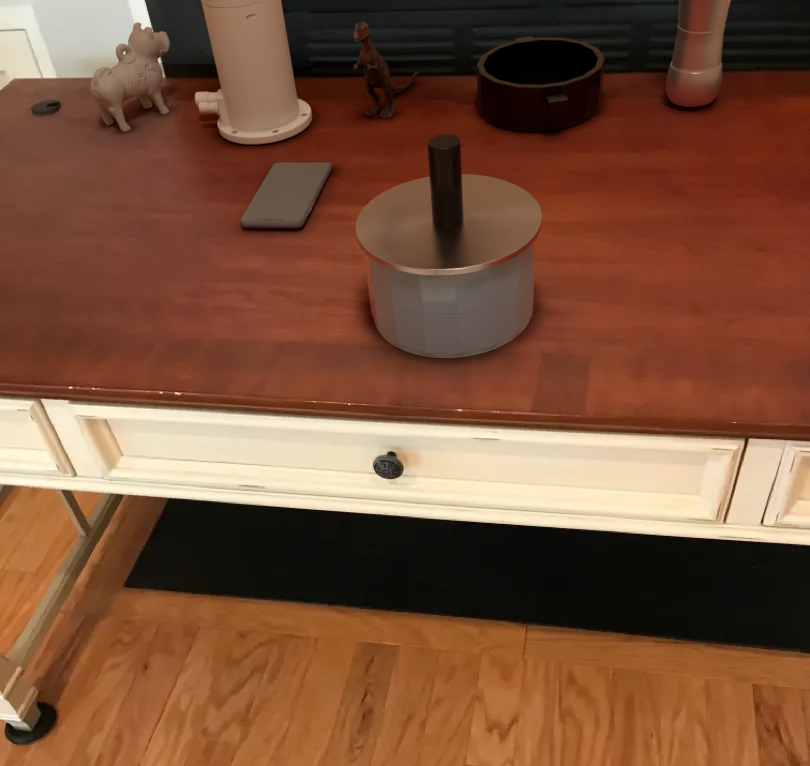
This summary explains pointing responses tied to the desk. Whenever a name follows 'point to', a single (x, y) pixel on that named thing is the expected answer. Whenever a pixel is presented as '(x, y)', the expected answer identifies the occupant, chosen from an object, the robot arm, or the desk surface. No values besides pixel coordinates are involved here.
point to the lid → (448, 219)
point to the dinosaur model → (376, 72)
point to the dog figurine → (132, 75)
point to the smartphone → (286, 195)
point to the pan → (540, 84)
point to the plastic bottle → (697, 53)
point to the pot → (452, 307)
